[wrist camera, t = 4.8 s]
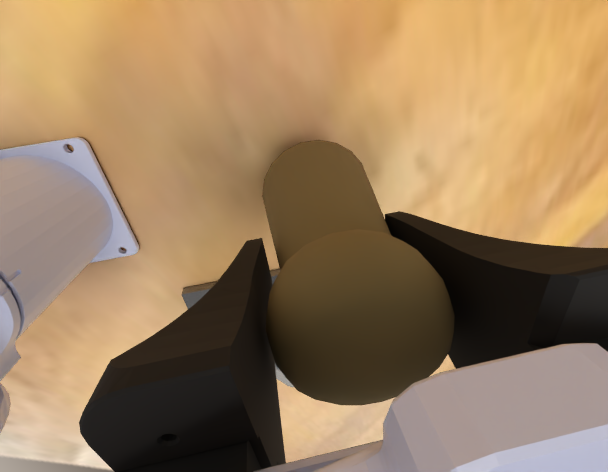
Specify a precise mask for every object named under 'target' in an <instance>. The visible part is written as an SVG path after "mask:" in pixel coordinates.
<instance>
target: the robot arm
mask: <svg viewBox="0 0 608 472" xmlns="http://www.w3.org/2000/svg"><path fill="white" fill-rule="evenodd" d="M67 144H69V145H71V146H72V147H73V149H74V151H73V152H72V151H70V150H69V149H68V148H67ZM385 221H386V224H387V226H388V229H389V231H390V234H391V236H393V237H395V238H397V239H399V240H401V241H404V242H405V243H407V244H409V245H410V246H412V247H413V248H415V249H417V250H418V251H419V252H420V253H421V255H422V256H423V257H424V258H425V259H426V260H427V261H428V262H429V263H430V264H431V265H432V267H433V268H434V269H435V270H436V271H437V273H438V274H439V275H440V276H441V277H442V279H443V280H444V283H445V286H446V289H447V291H448V294H449V297H450V300H451V304H452V307H453V311H454V315H455V319H454V334H453V339H452V344H451V349H450V351H449V353H448V355H449V357H450V359H451V360H452V362H453V364H454V366H455V368H456V369H453V370H449V371H445V372H440V373H438V374H435V375H433V376H430V377H428V378H425V379H423V380H420V381H418V382H415V383H413V384H412V385H410V386H409V387H408V388H407V389H406V390H404V391H403V392H402V393H401V394H400V395H398V396H397V397H396V398H395V399H394V400H393V402H392V404H391V406H390V408H389V411H388V413H387V416H386V418H385V420H384V423H383V440H380V441H376V442H372V443H368V444H364V445H359V446H355V447H351V448H347V449H343V450H339V451H335V452H331V453H327V454H322V455H318V456H314V457H310V458H306V459H302V460H298V461H294V462H290V463H286V461H285V453H284V445H283V436H282V427H281V418H280V409H279V400H278V390H277V380H276V370H275V360H274V357H273V354H272V351H271V347H270V344H269V340H268V337H267V333H266V313H267V307H268V300H269V294H270V291H271V288H272V286H273V285H272V278H271V274H270V270H269V265H268V261H267V257H266V253H265V249H264V245H263V241H262V238H260V239H254V240H249V241H246V243H245V244H244V246H243V247H242V249H241V250H240V252H239V253H238V255H237V256H236V258H235V259H234V261H233V262H232V264H231V265H230V266H229V268H228V269H227V270H226V272H225V273H224V274H223V275H222V277H221V278H220V279H219V280H218V281H217V283H216V284H215V285H214V286H213V287H212V288H211V289H210V290H209V291H208V292H207V293H206V294H205V295H204V296H203V297H202V298H201V299H200V300H199V301H198V302H196V303H195V304H194V305H193V306H192V307H190V308H189V309H188V310H187V311H186V312H184V313H183V314H182V315H181V316H180V317H178V318H177V319H176V320H174V321H173V322H172V323H170V324H169V325H167V326H166V327H165V328H163V329H162V330H160V331H159V332H157V333H156V334H154V335H153V336H151V337H150V338H148V339H146V340H145V341H143V342H141V343H140V344H138V345H136V346H135V347H133V348H131V349H130V350H128V351H126V352H124V353H123V354H121V355H119V356H118V357H116V358H114V359H112V360H111V361H110V363H109V364H108V366H107V368H106V370H105V372H104V373H103V375H102V377H101V379H100V381H99V383H98V385H97V387H96V388H95V390H94V392H93V394H92V396H91V398H90V400H89V402H88V404H87V405H86V407H85V409H84V411H83V413H82V416H81V419H80V422H79V425H80V432H81V434H82V436H83V438H84V439H85V440H86V442H87V443H88V445H89V446H90V447H91V448H92V449H93V450H94V451H95V452H96V453H97V454H98V455H99V456H100V457H101V458H102V459H103V460H104V461H105V462H106V463H107V464H108V465H109V466H110V467H111V468H112V469H113V470H114V472H608V248H579V247H564V246H551V245H540V244H532V243H524V242H517V241H510V240H504V239H498V238H493V237H488V236H483V235H479V234H474V233H470V232H467V231H463V230H459V229H456V228H452V227H449V226H446V225H442V224H439V223H436V222H433V221H430V220H427V219H424V218H421V217H418V216H415V215H412V214H408V213H404V212H394V213H389V214H385ZM121 247H123V248H125V249H126V251H123V250H122V249H121ZM138 250H139V245H138V243H137V241H136V239H135V237H134V235H133V233H132V231H131V229H130V226H129V224H128V222H127V220H126V218H125V216H124V214H123V212H122V210H121V208H120V206H119V204H118V202H117V200H116V198H115V196H114V194H113V192H112V190H111V188H110V186H109V184H108V182H107V180H106V178H105V176H104V174H103V171H102V169H101V167H100V165H99V163H98V161H97V159H96V157H95V155H94V153H93V151H92V149H91V147H90V145H89V143H88V142H87V141H86V140H85V139H83V138H80V137H74V138H68V139H62V140H56V141H50V142H44V143H38V144H32V145H26V146H20V147H14V148H7V149H1V150H0V381H1V380H2V379H3V378H4V377H5V375H6V374H7V373H8V372H9V371H10V370H11V368H12V367H13V366H14V365H15V364H16V363H17V362H18V360H19V359H20V358H21V357H20V355H19V354H18V352H17V350H16V347H15V341H16V340H17V339H18V338H19V337H20V336H21V334H22V333H23V332H24V331H25V330H26V329H27V328H28V327H29V326H30V325H31V324H32V323H33V322H34V321H35V320H36V319H37V318H38V317H39V315H40V314H41V313H42V312H43V311H44V310H45V309H46V308H47V307H48V306H49V305H50V304H51V303H52V302H53V301H54V300H55V299H56V298H57V296H58V295H59V294H60V293H61V292H62V291H63V290H64V289H65V288H66V287H67V286H68V285H69V284H70V283H71V282H72V281H73V280H74V278H75V277H76V276H77V275H78V274H79V273H80V272H81V271H82V270H83V269H84V268H85V267H86V266H87V265H88V264H89V263H92V262H98V261H103V260H108V259H113V258H119V257H124V256H129V255H134V254H136V253H137V252H138ZM10 404H11V403H10V397H9V393H8V392H7V390H6V389H5V387H4V386H3V385H2V384H1V383H0V433H1V431H2V429H3V427H4V425H5V423H6V420H7V417H8V415H9V410H10Z"/></svg>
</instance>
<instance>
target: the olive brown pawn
mask: <svg viewBox="0 0 608 472" xmlns="http://www.w3.org/2000/svg"><path fill="white" fill-rule="evenodd" d="M262 196H263V200H264V205H265V209H266V213H267V217H268V221H269V226H270V230H271V234H272V238H273V242H274V246H275V250H276V254H277V258H278V262H279V267H280V272H279V274H278V276H277V277H276V279H275V281H274V283H273V286H272V288H271V291H270V294H269V300H268V307H267V313H266V333H267V337H268V340H269V344H270V347H271V351H272V354H273V357H274V360H275V364H276V365H277V367H278V368H279V369H280V371H281V372H282V373H283V375H284V376H285V377H286V378H287V379H288V381H289V382H290V383H291V384H292V385H293V386H294V387H295V388H296V389H297V390H298V391H300V392H301V393H303V394H305V395H307V396H309V397H311V398H313V399H316V400H320V401H325V402H329V403H334V404H338V405H365V404H371V403H377V402H382V401H385V400H388V399H391V398H394V397H397V396H398V395H400V394H401V393H402V392H403V391H404V390H406V389H407V388H408V387H409V386H410V385H412V384H413V383H415V382H418V381H420V380H423V379H425V378H428V377H429V376H430V375H431V374H432V373H433V372H434V371H435V370H437V369H438V368H439V367H440V365H441V364H442V362H443V361H444V359H445V357H446V356H447V354H448V353H449V351H450V349H451V344H452V339H453V334H454V319H455V315H454V311H453V307H452V304H451V300H450V297H449V294H448V291H447V289H446V286H445V283H444V280H443V279H442V277H441V276H440V275H439V274H438V273H437V271H436V270H435V269H434V268H433V267H432V265H431V264H430V263H429V262H428V261H427V260H426V259H425V258H424V257H423V256H422V255H421V253H420V252H419V251H418V250H417V249H415V248H413V247H412V246H410V245H409V244H407V243H405V242H404V241H401V240H399V239H397V238H395V237H393V236H391V234H390V231H389V229H388V226H387V224H386V221H385V219H384V217H383V214H382V212H381V209H380V207H379V204H378V202H377V200H376V197H375V195H374V192H373V190H372V187H371V185H370V182H369V180H368V178H367V175H366V173H365V170H364V168H363V165H362V163H361V162H360V161H359V160H358V159H357V158H356V156H355V155H354V154H353V153H352V152H351V151H350V150H348V149H346V148H344V147H342V146H341V145H339V144H337V143H333V142H327V141H321V140H315V141H309V142H303V143H299V144H297V145H295V146H293V147H292V148H290V149H288V150H286V151H284V152H283V153H282V154H281V155H280V156H279V157H278V158H277V159H276V160H275V161H274V162H273V163H272V164H271V166H270V168H269V171H268V173H267V175H266V177H265V179H264V186H263V195H262Z"/></svg>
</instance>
